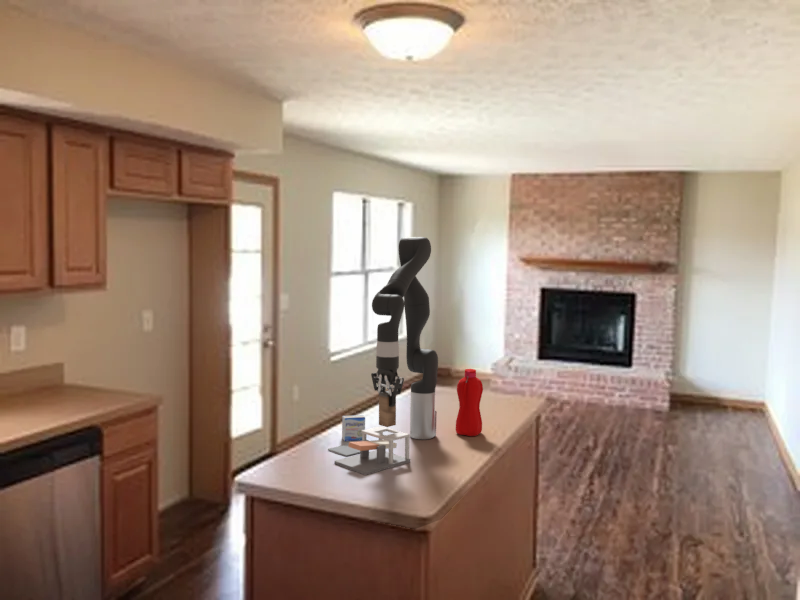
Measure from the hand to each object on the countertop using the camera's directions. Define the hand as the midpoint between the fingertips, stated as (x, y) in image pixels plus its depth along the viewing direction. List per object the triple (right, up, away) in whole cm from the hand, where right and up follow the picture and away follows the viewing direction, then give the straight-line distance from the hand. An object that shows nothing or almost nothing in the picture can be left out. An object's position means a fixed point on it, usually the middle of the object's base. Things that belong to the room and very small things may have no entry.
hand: (387, 405), depth 238 cm
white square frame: (-5, -19, -3) cm, 19 cm away
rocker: (-5, -13, -3) cm, 14 cm away
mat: (-14, -17, +11) cm, 25 cm away
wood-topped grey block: (0, -7, +1) cm, 7 cm away
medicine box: (-13, -17, +25) cm, 33 cm away
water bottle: (+30, -17, +36) cm, 50 cm away
